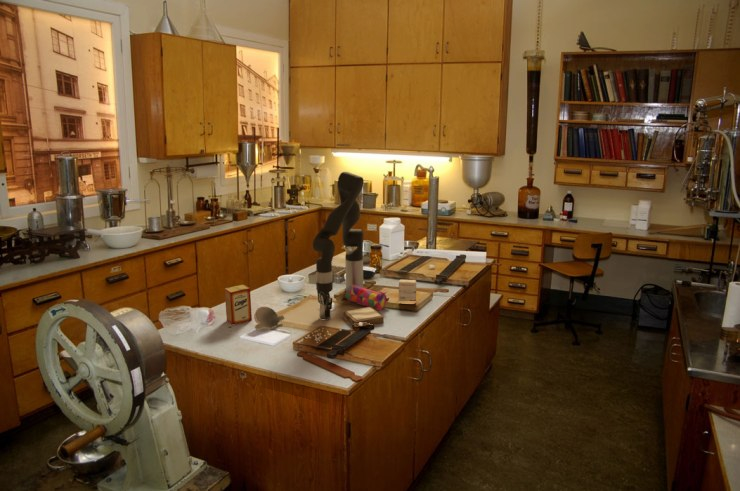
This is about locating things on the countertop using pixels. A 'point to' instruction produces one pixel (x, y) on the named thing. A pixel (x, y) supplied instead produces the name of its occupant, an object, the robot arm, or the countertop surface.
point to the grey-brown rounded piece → (266, 318)
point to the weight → (323, 312)
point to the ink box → (407, 290)
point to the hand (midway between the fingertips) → (325, 314)
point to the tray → (363, 316)
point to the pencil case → (366, 297)
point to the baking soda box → (238, 304)
